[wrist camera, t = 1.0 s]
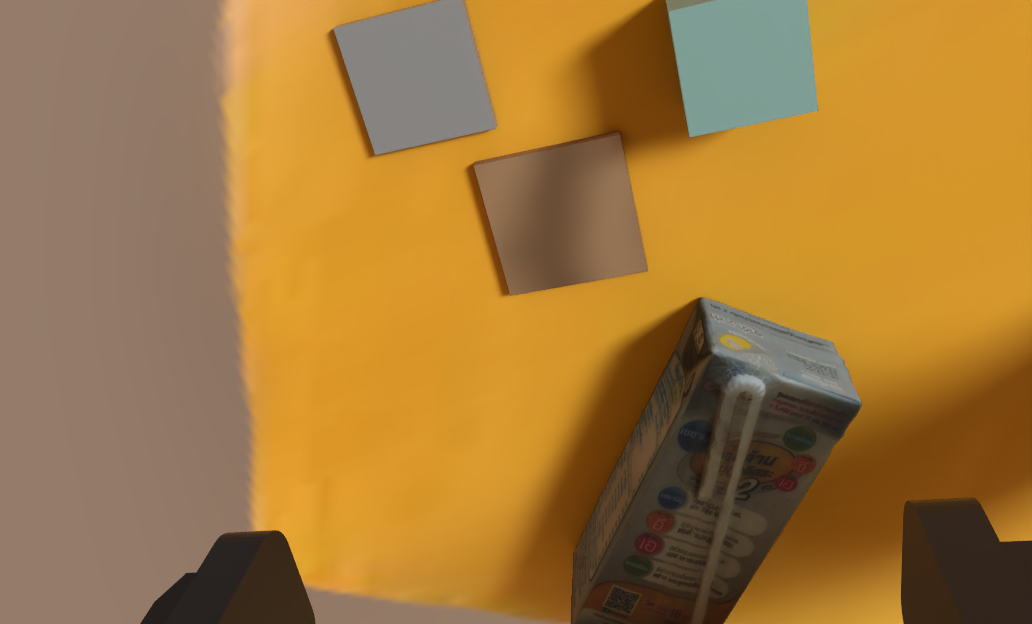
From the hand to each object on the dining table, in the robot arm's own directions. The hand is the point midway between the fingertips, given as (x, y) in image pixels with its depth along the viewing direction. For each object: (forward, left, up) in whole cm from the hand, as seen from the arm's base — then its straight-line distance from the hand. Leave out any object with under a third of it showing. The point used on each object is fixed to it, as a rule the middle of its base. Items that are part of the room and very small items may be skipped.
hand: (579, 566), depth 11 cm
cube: (-5, 0, -32) cm, 32 cm away
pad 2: (+4, +7, -31) cm, 32 cm away
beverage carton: (0, +22, -32) cm, 39 cm away
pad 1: (+9, -1, -32) cm, 33 cm away
